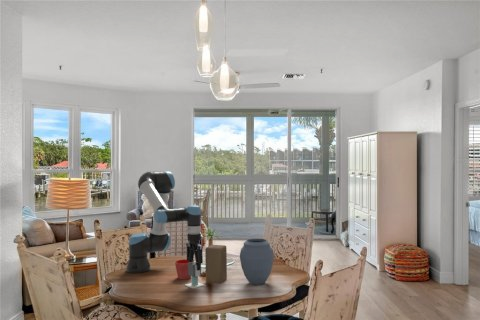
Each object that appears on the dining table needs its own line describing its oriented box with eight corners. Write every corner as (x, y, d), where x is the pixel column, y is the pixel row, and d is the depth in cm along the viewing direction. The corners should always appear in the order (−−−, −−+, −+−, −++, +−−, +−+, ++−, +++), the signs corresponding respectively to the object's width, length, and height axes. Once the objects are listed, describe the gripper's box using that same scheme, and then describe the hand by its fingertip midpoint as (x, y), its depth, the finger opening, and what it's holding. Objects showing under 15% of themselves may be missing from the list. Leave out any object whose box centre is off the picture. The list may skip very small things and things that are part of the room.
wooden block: (227, 279, 247) (227, 245, 247) (221, 283, 237) (220, 248, 238) (211, 277, 250) (211, 244, 250) (205, 282, 241) (204, 247, 241)
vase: (250, 290, 224) (249, 244, 224) (234, 281, 241) (233, 239, 242) (281, 285, 233) (280, 241, 233) (263, 277, 250) (262, 236, 251)
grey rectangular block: (188, 275, 235) (188, 263, 235) (196, 273, 238) (195, 261, 238) (193, 277, 231) (193, 265, 231) (201, 275, 234) (200, 263, 234)
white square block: (184, 285, 235) (184, 273, 235) (196, 282, 240) (196, 270, 240) (192, 288, 229) (192, 275, 229) (204, 285, 234) (204, 273, 234)
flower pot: (190, 280, 246) (190, 263, 246) (172, 279, 248) (172, 262, 248) (195, 275, 256) (195, 259, 256) (178, 274, 258) (178, 259, 259)
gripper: (179, 232, 239) (180, 272, 239) (197, 235, 225) (198, 279, 225) (190, 230, 244) (191, 270, 244) (209, 234, 230) (209, 276, 230)
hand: (194, 274), depth 234 cm, fingers closed on grey rectangular block, 5 cm apart
